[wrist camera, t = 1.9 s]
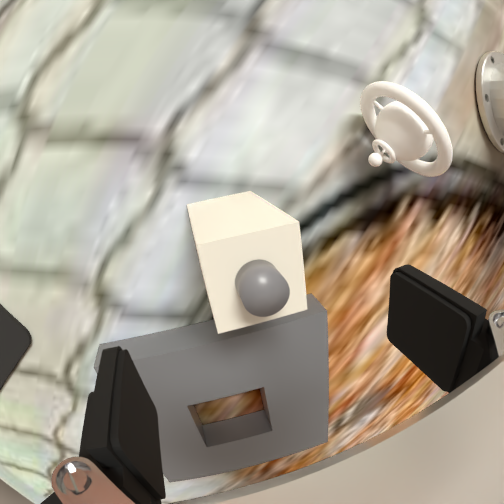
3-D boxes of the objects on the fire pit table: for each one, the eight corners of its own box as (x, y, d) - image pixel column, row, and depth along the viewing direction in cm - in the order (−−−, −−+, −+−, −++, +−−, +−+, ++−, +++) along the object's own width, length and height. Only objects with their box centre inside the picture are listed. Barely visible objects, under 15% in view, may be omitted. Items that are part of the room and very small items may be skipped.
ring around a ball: (408, 155, 24) (479, 167, 17) (367, 197, 24) (435, 222, 17) (359, 77, 21) (429, 62, 14) (310, 118, 21) (373, 111, 14)
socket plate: (311, 293, 26) (326, 310, 23) (317, 423, 33) (327, 441, 30) (99, 344, 23) (93, 367, 20) (167, 461, 30) (169, 482, 27)
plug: (250, 191, 22) (312, 231, 12) (259, 250, 24) (319, 324, 14) (186, 204, 21) (199, 257, 12) (200, 264, 23) (223, 352, 13)
